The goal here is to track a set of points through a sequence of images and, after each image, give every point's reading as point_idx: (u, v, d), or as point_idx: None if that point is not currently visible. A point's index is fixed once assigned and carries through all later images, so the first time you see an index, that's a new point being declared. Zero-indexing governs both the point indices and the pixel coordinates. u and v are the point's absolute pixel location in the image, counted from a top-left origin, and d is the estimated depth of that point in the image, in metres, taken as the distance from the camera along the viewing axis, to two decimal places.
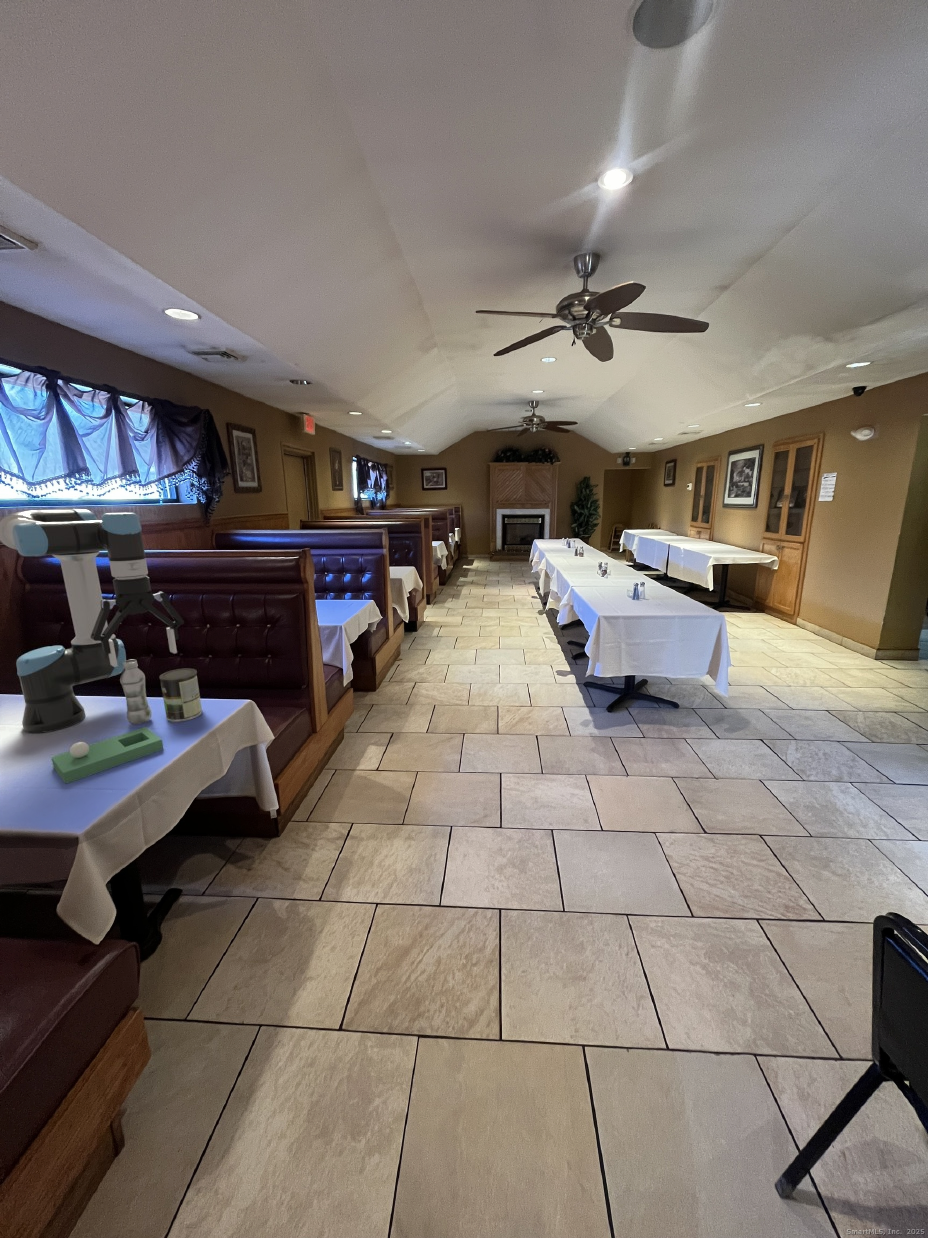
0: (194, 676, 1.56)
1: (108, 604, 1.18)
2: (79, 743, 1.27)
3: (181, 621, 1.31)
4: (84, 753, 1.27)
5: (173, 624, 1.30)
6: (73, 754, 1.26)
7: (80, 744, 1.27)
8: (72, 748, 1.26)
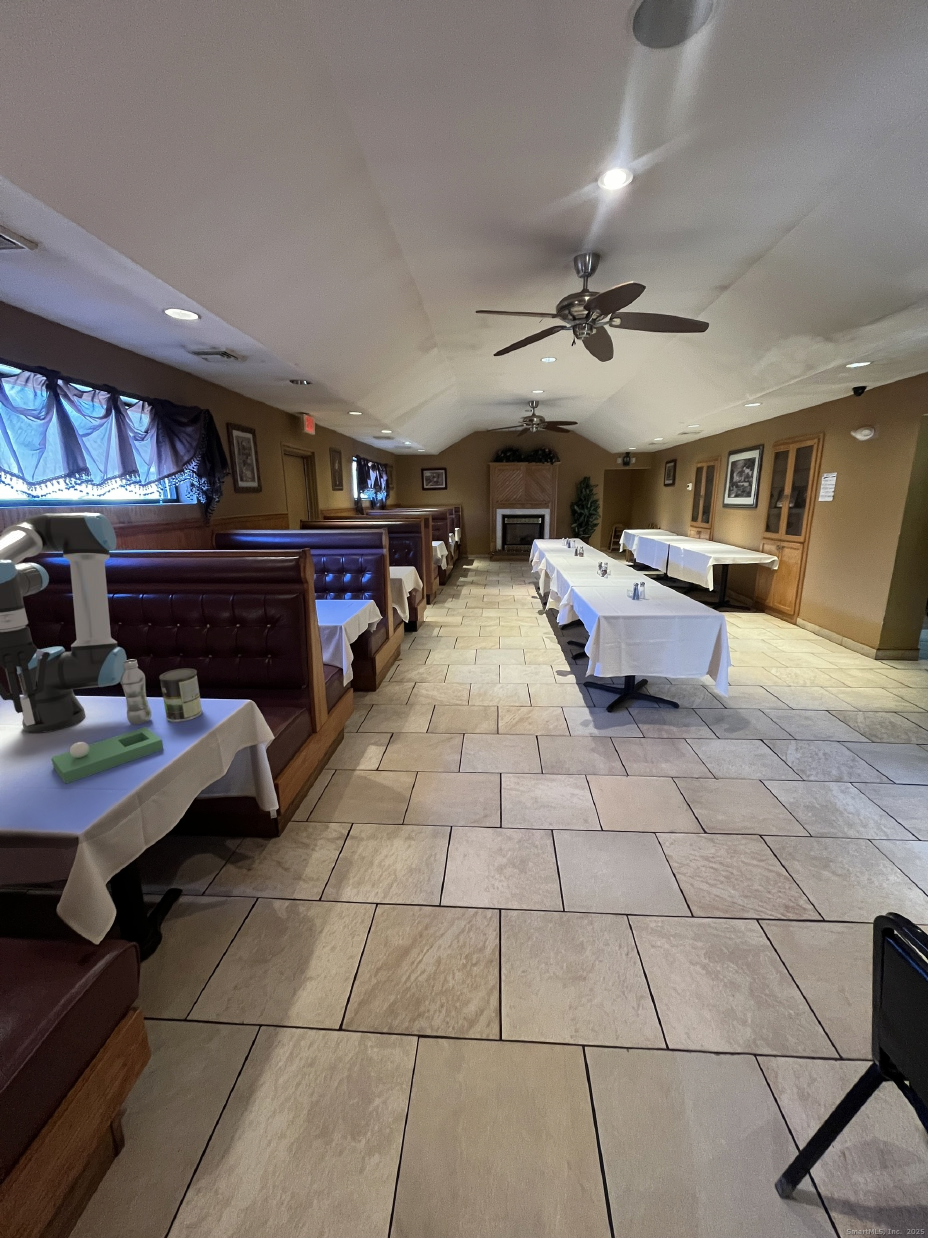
0: (194, 676, 1.56)
1: None
2: (79, 743, 1.27)
3: (40, 688, 1.19)
4: (84, 753, 1.27)
5: (31, 692, 1.18)
6: (73, 754, 1.26)
7: (80, 744, 1.27)
8: (72, 748, 1.26)
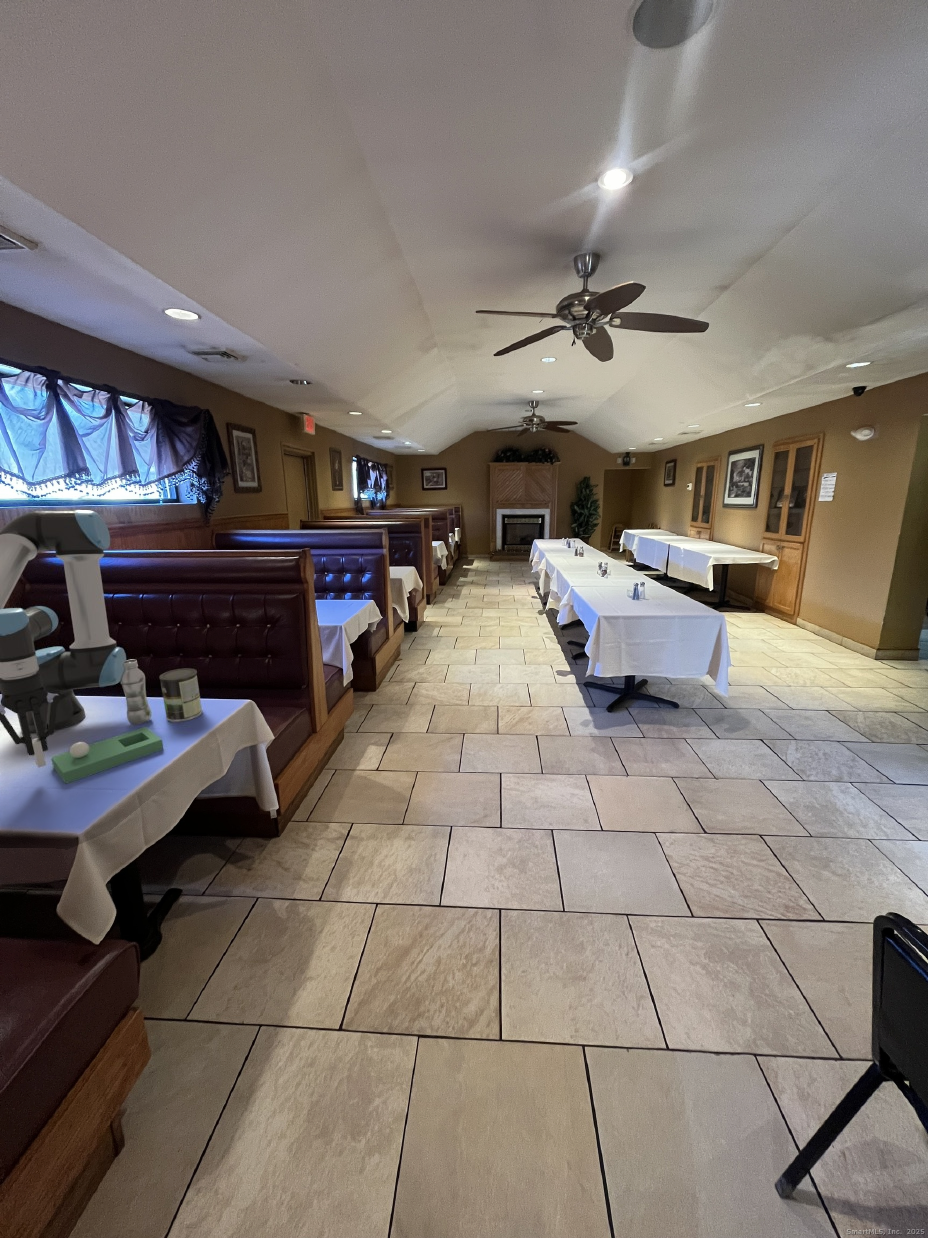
0: (194, 676, 1.56)
1: None
2: (79, 743, 1.27)
3: (51, 731, 1.22)
4: (84, 753, 1.27)
5: (42, 735, 1.21)
6: (73, 754, 1.26)
7: (80, 744, 1.27)
8: (72, 748, 1.26)
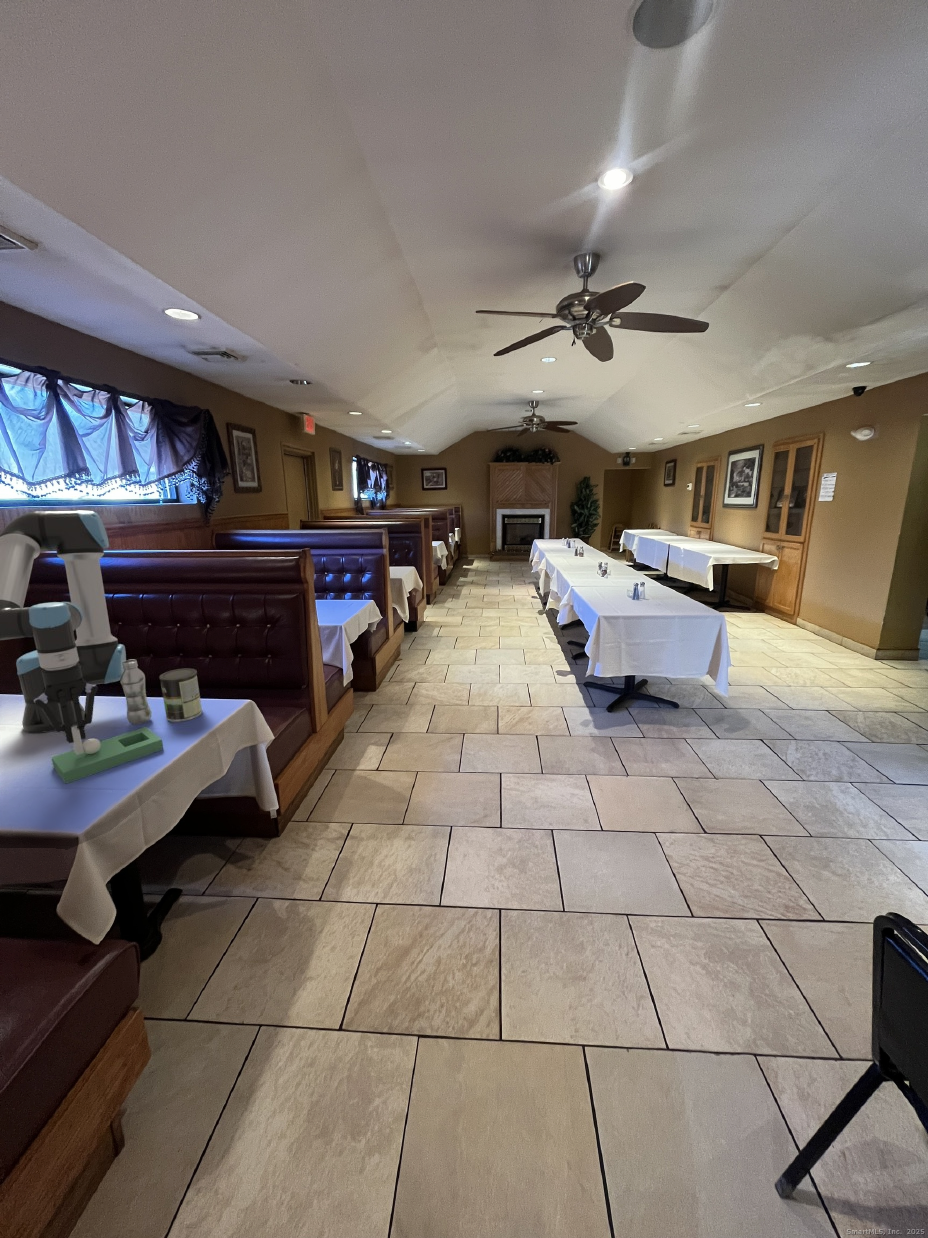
0: (194, 676, 1.56)
1: (41, 702, 1.19)
2: (99, 742, 1.31)
3: (89, 720, 1.28)
4: (92, 751, 1.29)
5: (81, 724, 1.26)
6: (87, 744, 1.28)
7: (99, 743, 1.30)
8: (93, 740, 1.29)
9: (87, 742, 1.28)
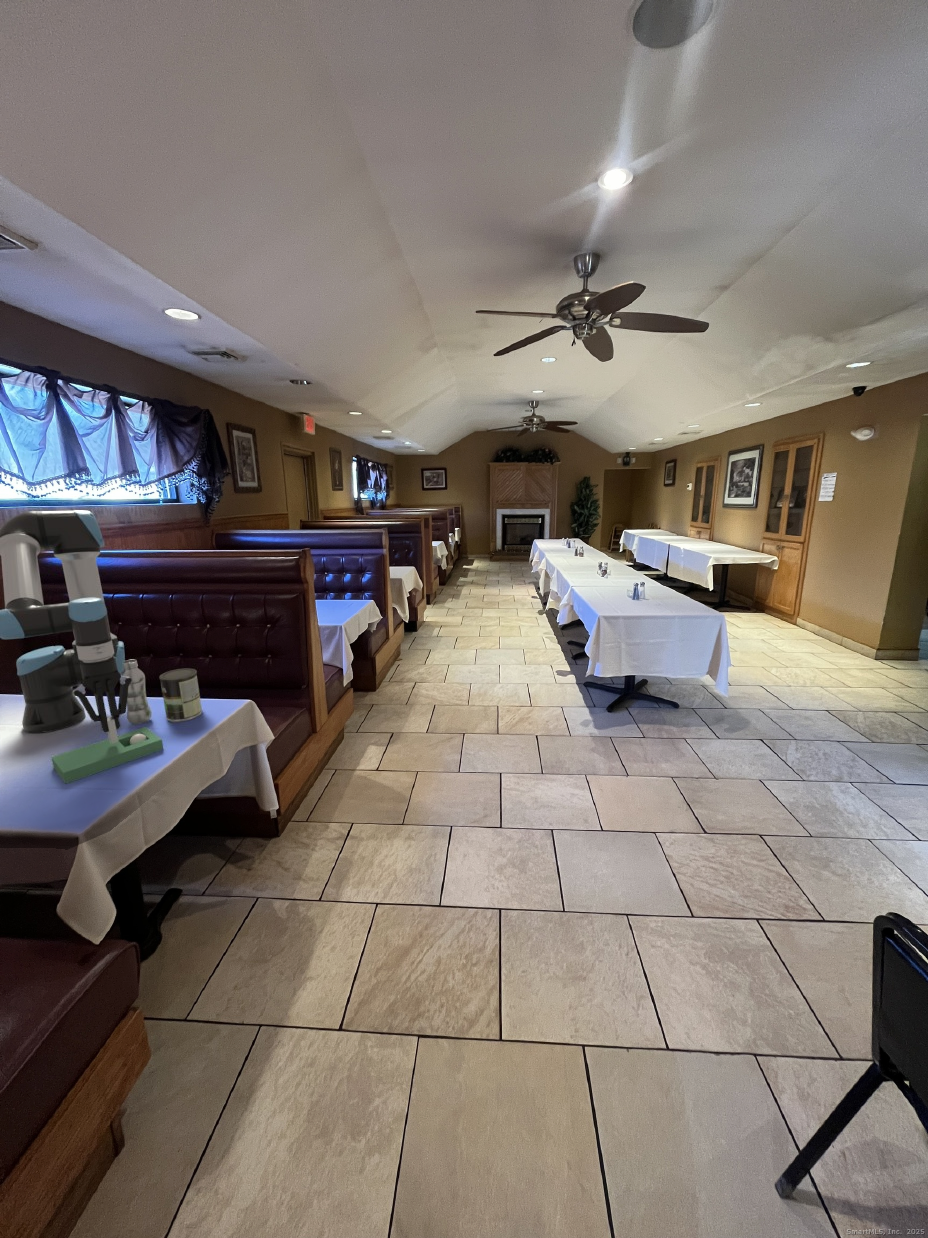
0: (194, 676, 1.56)
1: (79, 692, 1.25)
2: (138, 735, 1.38)
3: (123, 710, 1.33)
4: None
5: (116, 714, 1.32)
6: None
7: (139, 736, 1.37)
8: (132, 740, 1.36)
9: (132, 744, 1.36)
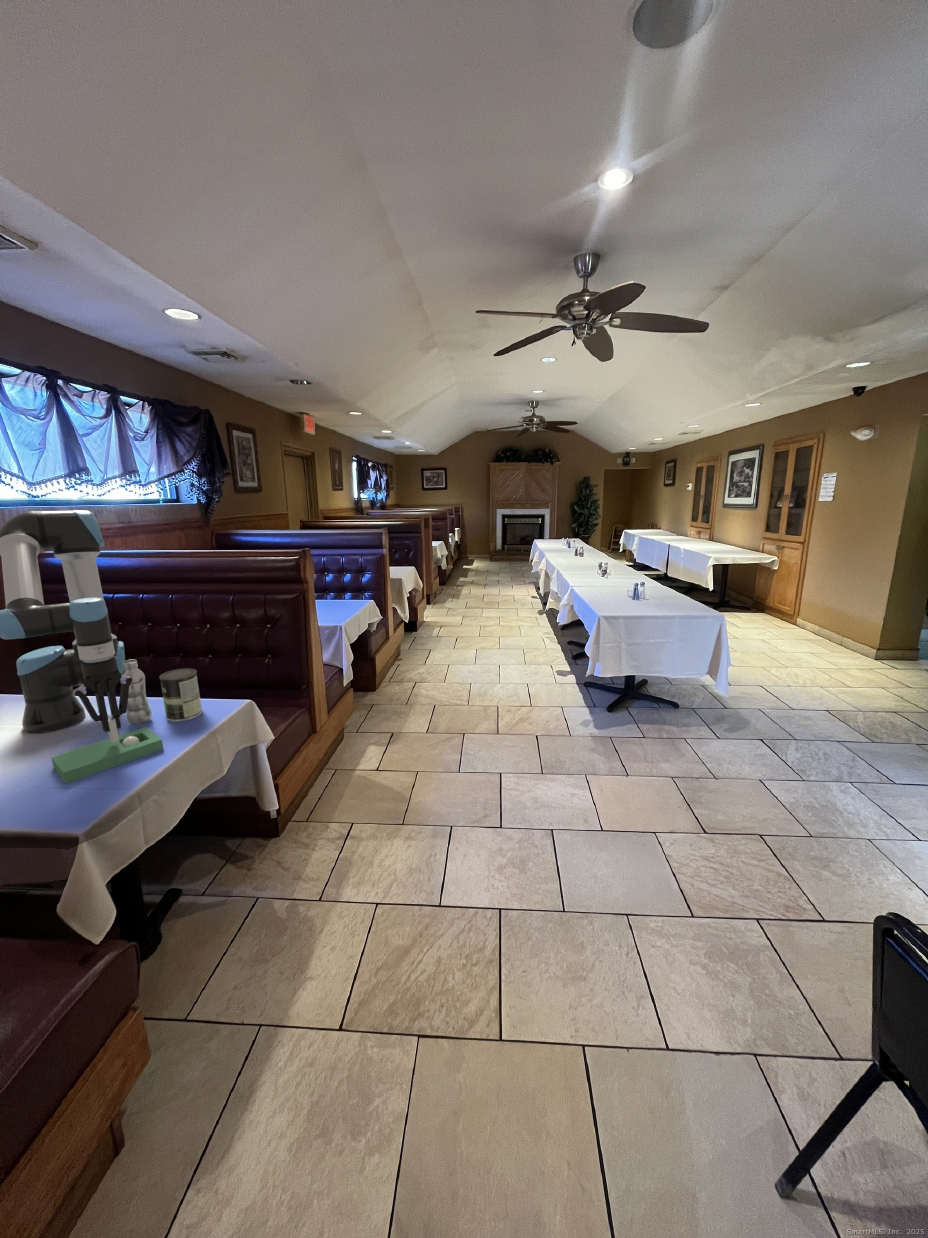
0: (194, 676, 1.56)
1: (80, 693, 1.25)
2: (125, 741, 1.35)
3: (124, 710, 1.34)
4: None
5: (116, 713, 1.32)
6: None
7: (126, 741, 1.35)
8: None
9: None
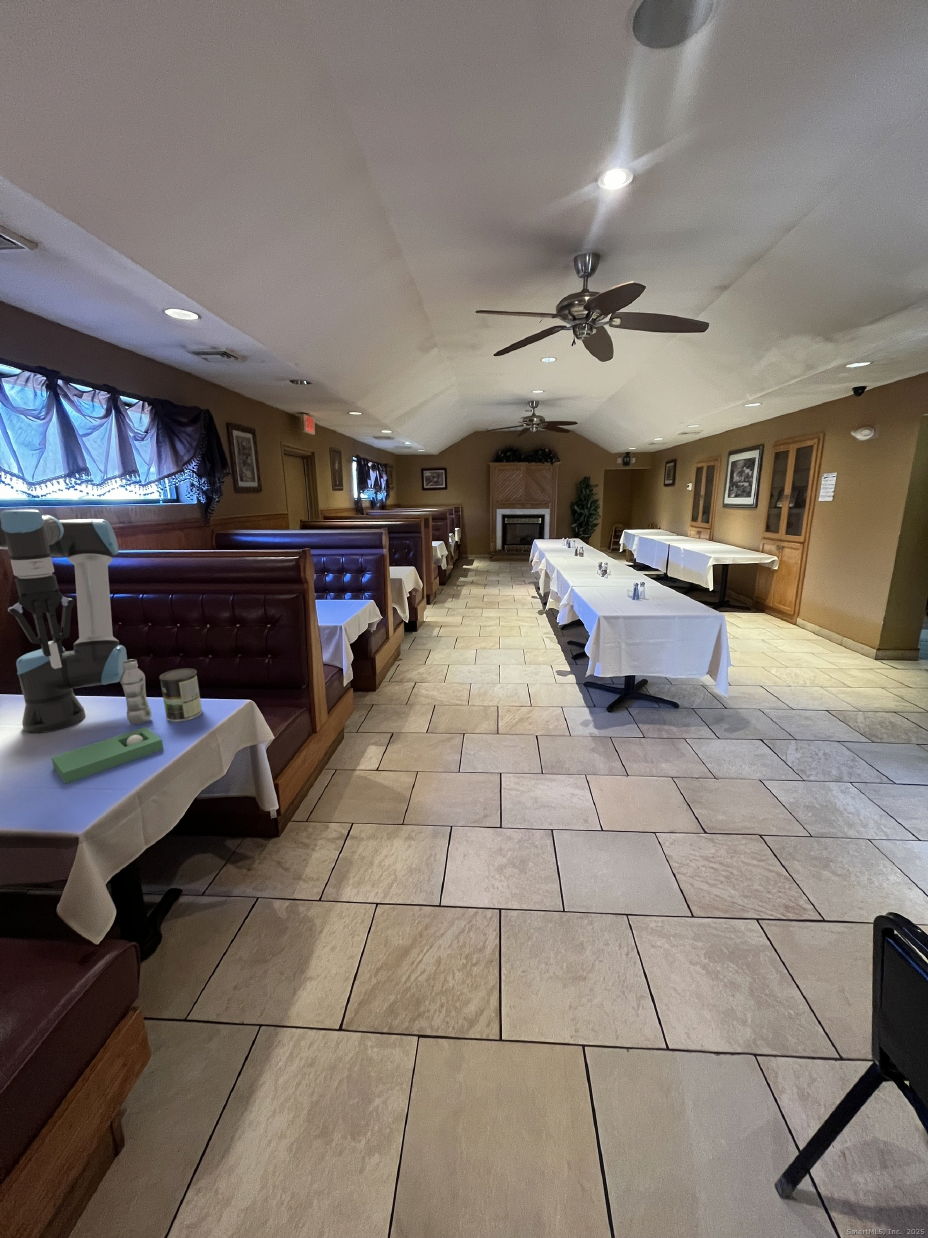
0: (194, 676, 1.56)
1: (15, 611, 1.17)
2: (132, 737, 1.37)
3: (66, 634, 1.25)
4: None
5: (58, 637, 1.24)
6: None
7: (133, 737, 1.36)
8: (128, 743, 1.36)
9: None
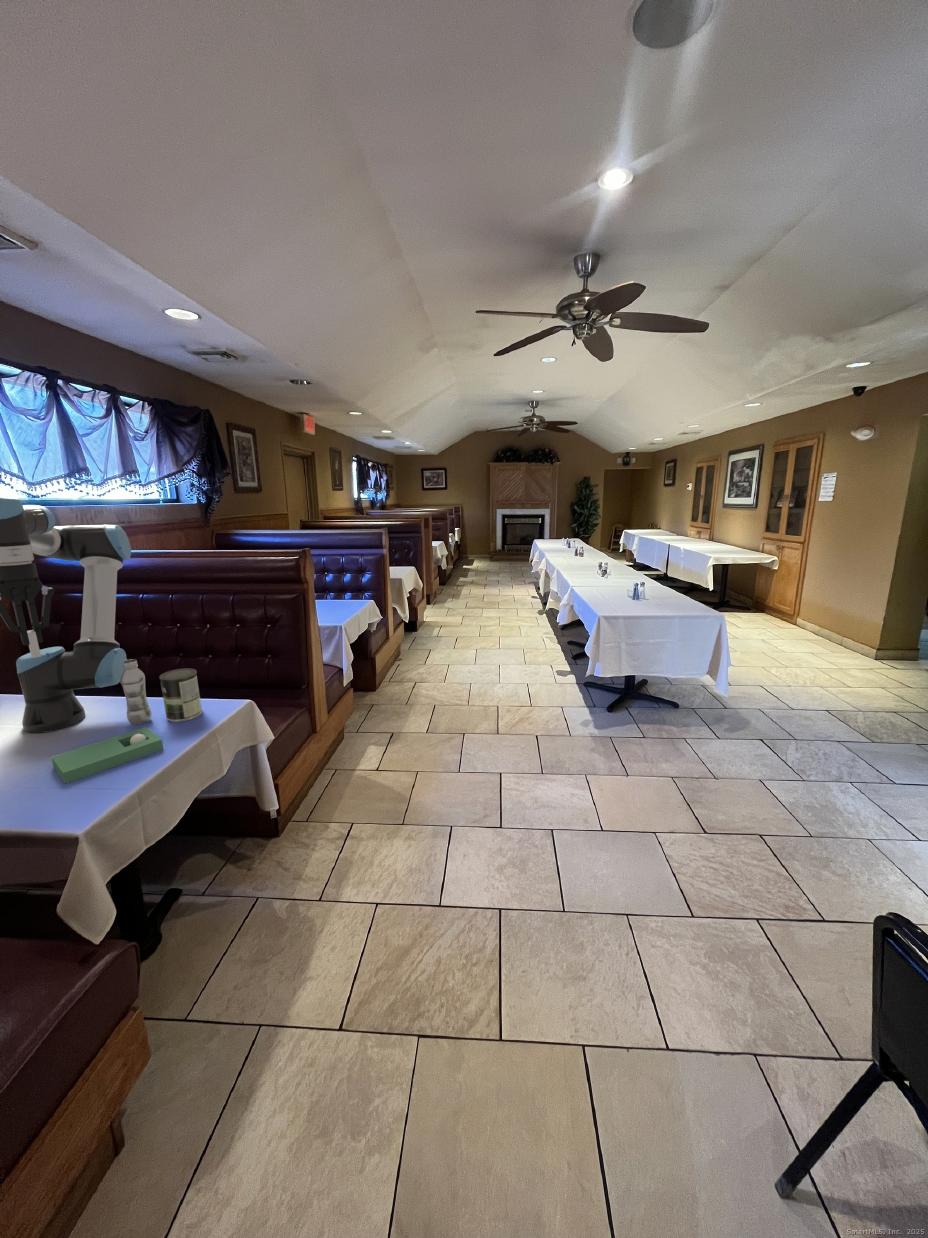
0: (194, 676, 1.56)
1: None
2: (139, 734, 1.38)
3: (46, 623, 1.25)
4: None
5: (37, 626, 1.24)
6: None
7: (140, 735, 1.38)
8: (133, 739, 1.36)
9: (131, 744, 1.36)
